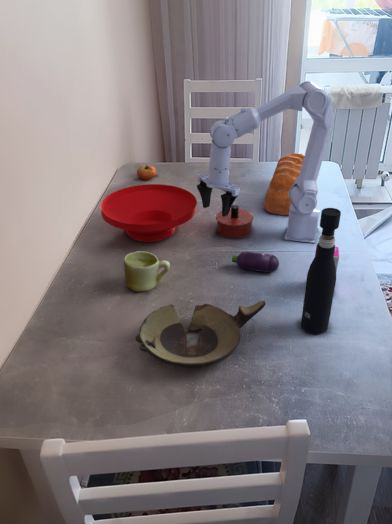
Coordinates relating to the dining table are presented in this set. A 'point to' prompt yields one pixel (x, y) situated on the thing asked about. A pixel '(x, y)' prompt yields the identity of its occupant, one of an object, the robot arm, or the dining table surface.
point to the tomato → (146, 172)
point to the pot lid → (235, 217)
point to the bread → (283, 183)
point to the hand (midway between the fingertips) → (215, 211)
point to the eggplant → (256, 261)
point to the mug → (143, 270)
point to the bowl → (149, 210)
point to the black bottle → (321, 277)
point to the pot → (234, 231)
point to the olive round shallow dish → (205, 319)
